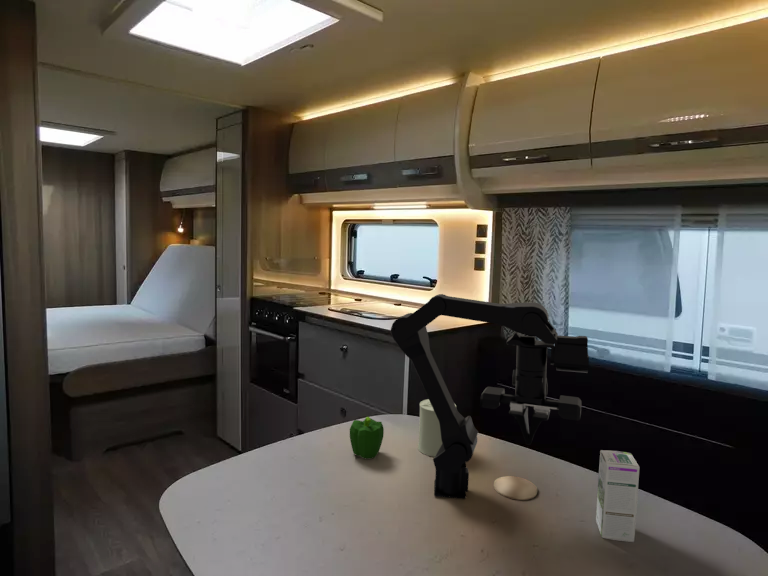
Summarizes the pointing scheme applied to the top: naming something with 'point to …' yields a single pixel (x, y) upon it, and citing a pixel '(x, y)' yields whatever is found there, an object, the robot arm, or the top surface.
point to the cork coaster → (515, 488)
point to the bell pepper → (366, 437)
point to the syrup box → (617, 495)
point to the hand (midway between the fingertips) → (528, 443)
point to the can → (429, 430)
